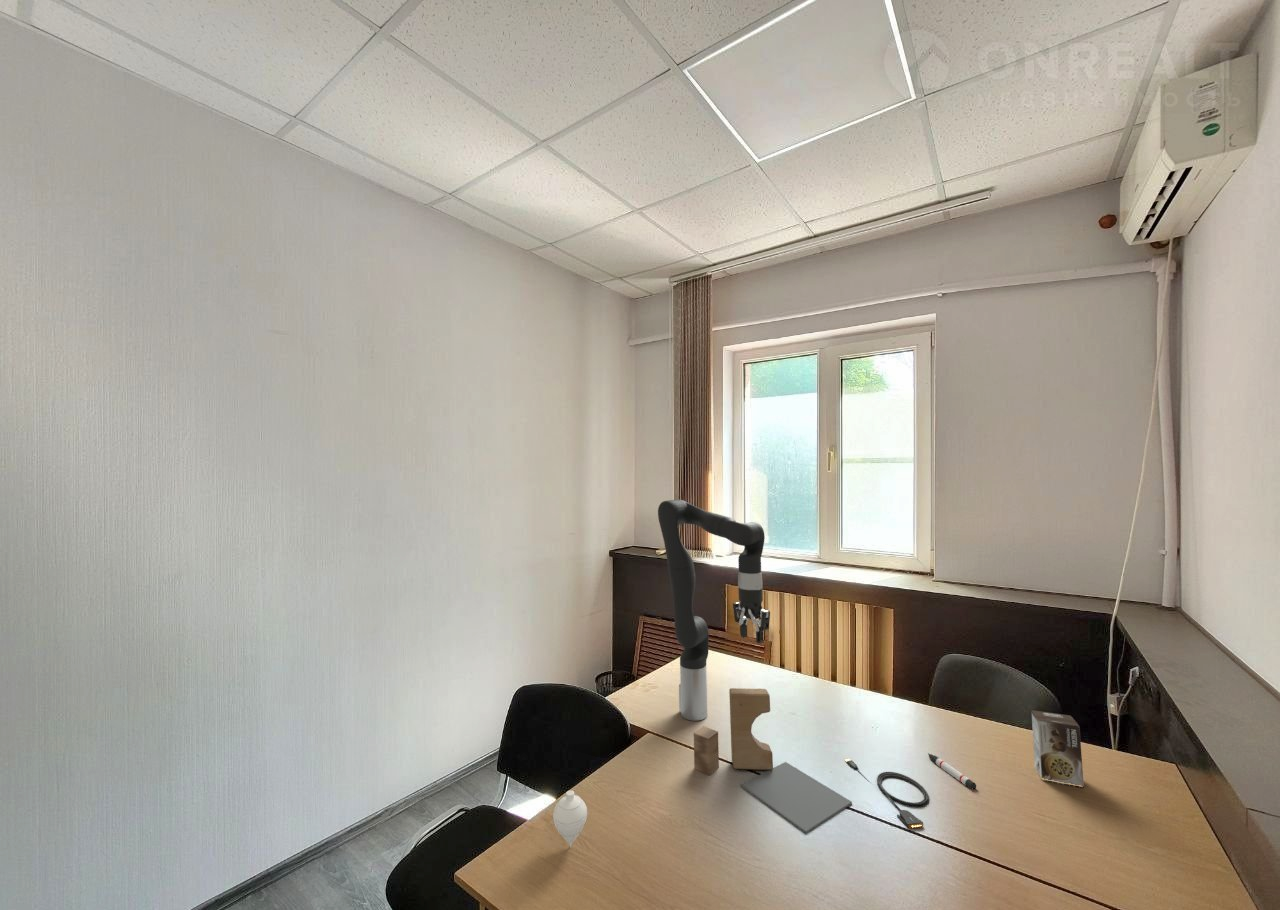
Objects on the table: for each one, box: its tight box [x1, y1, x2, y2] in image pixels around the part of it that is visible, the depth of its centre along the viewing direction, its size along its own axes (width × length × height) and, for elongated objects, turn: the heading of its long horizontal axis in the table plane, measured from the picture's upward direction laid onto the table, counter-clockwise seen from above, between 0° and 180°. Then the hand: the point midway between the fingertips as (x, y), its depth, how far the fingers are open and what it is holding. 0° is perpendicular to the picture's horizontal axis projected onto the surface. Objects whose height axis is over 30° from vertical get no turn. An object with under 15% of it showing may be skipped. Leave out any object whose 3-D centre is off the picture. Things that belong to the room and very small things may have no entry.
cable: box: [844, 758, 930, 831], centre depth 128 cm, size 14×28×2 cm, turn 7°
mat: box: [740, 761, 853, 834], centre depth 127 cm, size 21×18×1 cm
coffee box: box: [1030, 709, 1085, 787], centre depth 132 cm, size 9×6×16 cm
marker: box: [927, 752, 977, 790], centre depth 136 cm, size 15×2×2 cm, turn 12°
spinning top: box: [552, 789, 588, 848], centre depth 110 cm, size 8×8×12 cm
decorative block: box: [728, 687, 774, 771], centre depth 141 cm, size 11×6×20 cm, turn 84°
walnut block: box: [693, 725, 720, 776], centre depth 139 cm, size 5×5×10 cm
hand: (751, 639), depth 153 cm, fingers open, 6 cm apart
